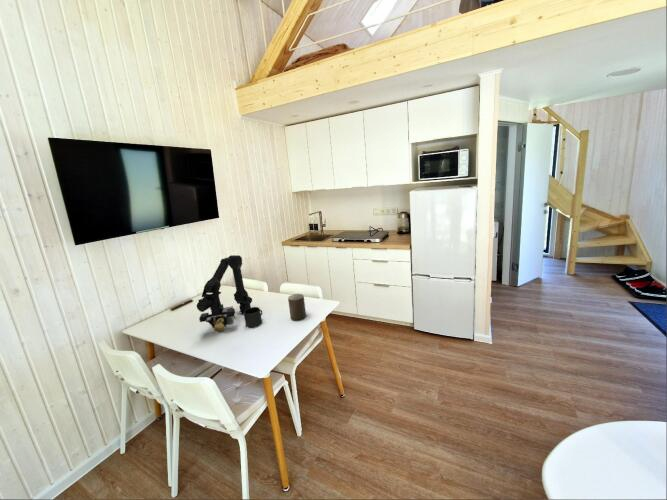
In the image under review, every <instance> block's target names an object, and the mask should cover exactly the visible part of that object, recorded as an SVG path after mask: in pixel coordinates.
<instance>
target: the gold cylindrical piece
mask: <svg viewBox="0 0 667 500" xmlns="http://www.w3.org/2000/svg"><path fill="white" fill-rule="evenodd" d="M223 318H224V316H220V317H218V319H217V322H216V324H215V326H214V328H213V329H214V331H215V333H222V332H223V331H224V330H225V328H226V327H225V325H224V320H223Z"/></svg>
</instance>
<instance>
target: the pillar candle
mask: <svg viewBox="0 0 667 500" xmlns="http://www.w3.org/2000/svg"><path fill="white" fill-rule="evenodd" d="M287 300H288V307H289V315H290V319H291V320H292V321H294V322H298V321H303V320H305V319H306V318H307V313H306V312H307V311H306V304H305V303H306V301H305V297H304V294H303V293H294V294H291V295H289V296H288V297H287Z"/></svg>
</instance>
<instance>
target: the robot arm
mask: <svg viewBox="0 0 667 500" xmlns="http://www.w3.org/2000/svg"><path fill="white" fill-rule="evenodd" d="M242 265H243V258H242V256H241V255H232V254H230V255H229V256H228V257H224V258H221V259H220V263H219V265H218V267H216V269H215V271H214V273H213V276H212V277H211V278H210V279H208V280H207V281H206V282H205V284H204V286H203V290H202V294H201V298H200V299H198V300H197V301H198V302H197V303H196V309H197V310H198V311H199V312H202V313H201V314H200V316H199V318H198V319H199V320H198V321H199V323H203V322H206V323H209V325H210V326H211V327H213V329H214V326H215V323H214V320H213V317H217V316H222V315H224V318H223V320H224V325H225V328H226V327H227V325H226V322H227V318H229V317H231V316H234V315H235V314H236V309H235V308H234V307H233V308H231V309H227V311H225V312H222V311H223V309H224V308H225V307H224V304H223V303H221V299H220V295H221V294H222V291H220V289H221V286H222V285H221V284H222V283H221V281H222V279H223V277H224V275H225V273H226V271H227V269H228V268H229V267H230V269H231V270H232V273H233V280H234V285H235V290H236V291H235V293H234V294H233V297H234V299H233V300H235V302H236V304H238V305H239V306H238V307H239V312H240V314H241V315H244V311H245V310H246V309H248V308H252V306H251V304H252V302H253V298H252V297H251V296H249V293H248V292H247V290H246V289H245V286H244V281H243V275H242V270H241V269H242ZM208 309H210V313H209V312H205V311H207V310H208ZM211 313H212V314H211Z"/></svg>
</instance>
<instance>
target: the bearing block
mask: <svg viewBox="0 0 667 500" xmlns="http://www.w3.org/2000/svg"><path fill="white" fill-rule="evenodd" d="M223 308H224V309H223V311H222V312H225V311H227V309H231V308H234V306H227V307H223ZM210 314H212V312H210ZM222 316H224V315H222ZM235 316H236V315H235V314H234V316H231V317H229V318H227V322H226V326H229V325H233V324H234V321H235V318H236V317H235ZM218 317H220V316H217V317H213V320H214V323H215V324H216V322H217V319H218ZM211 327H212V326H211ZM212 328H213V327H212ZM213 329H214V328H213Z"/></svg>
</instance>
